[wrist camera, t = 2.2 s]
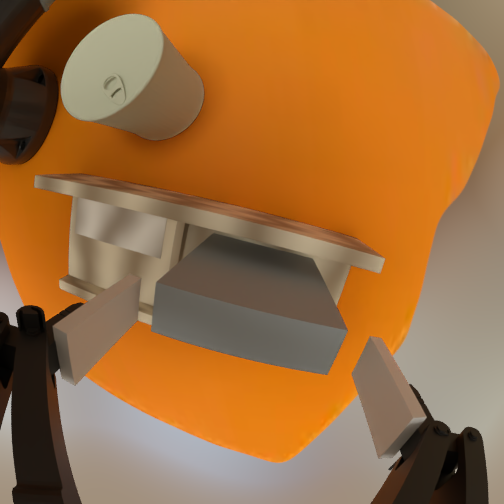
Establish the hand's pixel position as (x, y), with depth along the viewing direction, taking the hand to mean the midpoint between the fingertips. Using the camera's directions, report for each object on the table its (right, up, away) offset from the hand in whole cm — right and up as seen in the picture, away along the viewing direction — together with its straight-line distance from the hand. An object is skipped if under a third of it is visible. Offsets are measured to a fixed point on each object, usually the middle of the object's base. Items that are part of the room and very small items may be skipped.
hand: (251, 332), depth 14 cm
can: (-9, +20, +11) cm, 25 cm away
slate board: (+1, +3, +13) cm, 13 cm away
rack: (-6, +3, +15) cm, 16 cm away
